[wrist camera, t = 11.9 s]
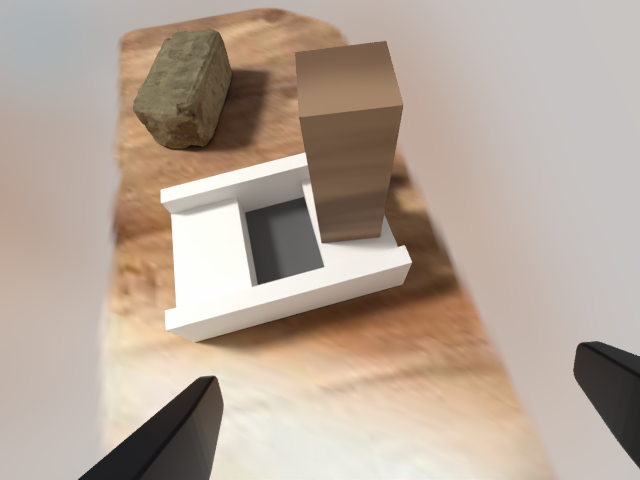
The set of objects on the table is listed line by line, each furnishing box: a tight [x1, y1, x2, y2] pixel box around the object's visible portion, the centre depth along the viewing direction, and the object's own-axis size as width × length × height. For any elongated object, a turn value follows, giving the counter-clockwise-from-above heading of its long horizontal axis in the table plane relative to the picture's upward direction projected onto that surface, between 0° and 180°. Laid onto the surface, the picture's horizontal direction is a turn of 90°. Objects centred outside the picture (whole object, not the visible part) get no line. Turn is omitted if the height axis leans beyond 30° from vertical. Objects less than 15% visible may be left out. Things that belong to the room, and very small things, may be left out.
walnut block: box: [295, 41, 403, 243], centre depth 18 cm, size 4×4×11 cm
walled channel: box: [161, 153, 412, 342], centre depth 24 cm, size 10×15×4 cm
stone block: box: [133, 29, 232, 149], centre depth 31 cm, size 6×12×5 cm, turn 175°
